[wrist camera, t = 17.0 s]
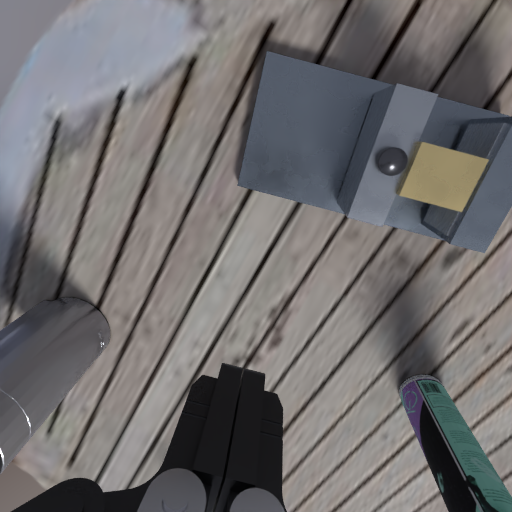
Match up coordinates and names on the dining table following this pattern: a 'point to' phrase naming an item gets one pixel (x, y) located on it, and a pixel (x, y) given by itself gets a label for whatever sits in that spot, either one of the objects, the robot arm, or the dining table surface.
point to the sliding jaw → (384, 151)
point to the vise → (345, 140)
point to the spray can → (452, 449)
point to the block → (441, 176)
